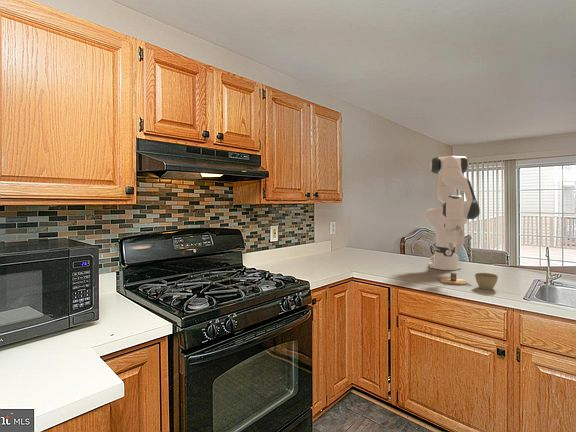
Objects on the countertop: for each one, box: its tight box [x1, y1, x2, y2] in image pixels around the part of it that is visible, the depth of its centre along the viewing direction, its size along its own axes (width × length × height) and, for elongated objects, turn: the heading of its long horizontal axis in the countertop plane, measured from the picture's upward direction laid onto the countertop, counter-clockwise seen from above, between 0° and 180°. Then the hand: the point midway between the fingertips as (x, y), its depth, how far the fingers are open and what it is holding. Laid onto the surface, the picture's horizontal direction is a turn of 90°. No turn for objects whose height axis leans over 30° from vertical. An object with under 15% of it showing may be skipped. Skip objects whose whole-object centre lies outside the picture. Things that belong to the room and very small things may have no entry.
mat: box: [436, 278, 473, 287], centre depth 184 cm, size 14×14×1 cm
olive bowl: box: [474, 272, 499, 291], centre depth 171 cm, size 10×10×7 cm
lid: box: [439, 272, 468, 286], centre depth 184 cm, size 13×13×5 cm
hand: (454, 251), depth 183 cm, fingers open, 8 cm apart
